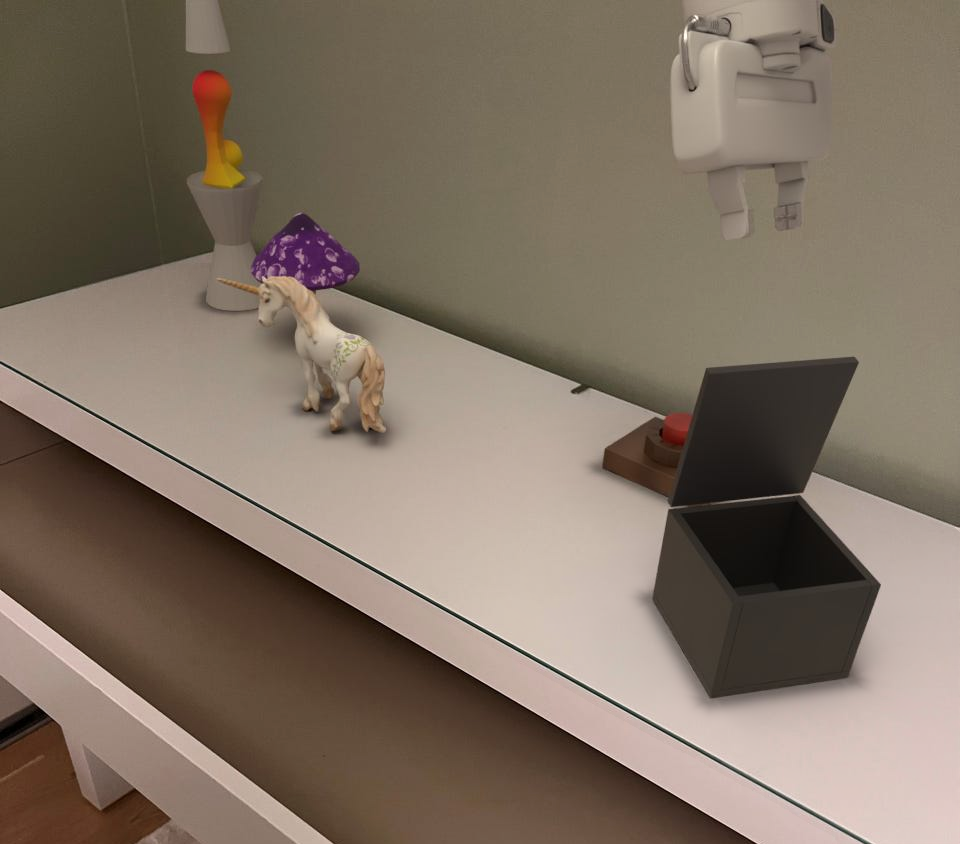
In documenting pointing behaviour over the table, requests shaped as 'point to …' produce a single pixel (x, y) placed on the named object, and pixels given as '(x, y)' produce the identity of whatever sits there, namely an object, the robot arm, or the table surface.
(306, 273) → the decorative mushroom
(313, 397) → the unicorn figurine
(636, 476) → the console
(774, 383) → the lid
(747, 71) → the robot arm
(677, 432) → the button
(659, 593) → the dark grey cubic box
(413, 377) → the table surface
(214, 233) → the lava lamp
